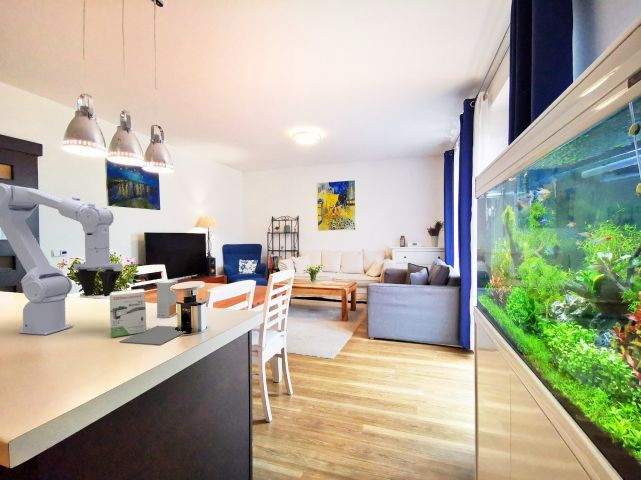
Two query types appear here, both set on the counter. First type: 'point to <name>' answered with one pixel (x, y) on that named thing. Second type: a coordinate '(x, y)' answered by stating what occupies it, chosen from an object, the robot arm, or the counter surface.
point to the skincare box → (166, 299)
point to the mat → (154, 336)
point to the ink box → (127, 312)
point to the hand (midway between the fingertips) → (98, 295)
